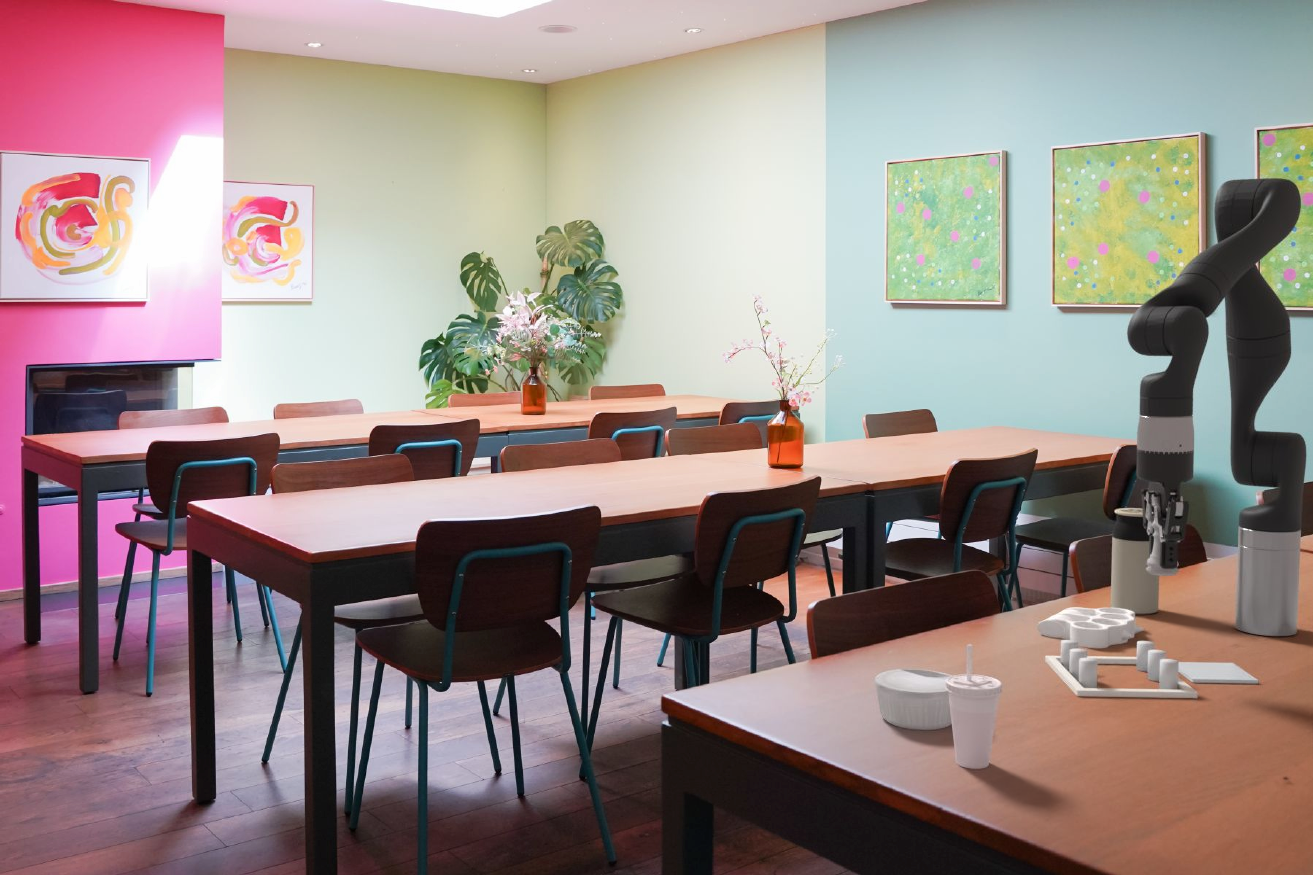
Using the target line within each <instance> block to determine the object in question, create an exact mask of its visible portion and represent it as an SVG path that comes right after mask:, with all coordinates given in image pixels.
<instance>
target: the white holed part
mask: <svg viewBox="0 0 1313 875" xmlns="http://www.w3.org/2000/svg"><path fill="white" fill-rule="evenodd" d="M1036 628H1037V631H1038V632H1039V633H1040V634H1041V635H1043V636H1045V637H1049V638H1058V639H1062V640H1074V641H1077V642H1078V647H1082V648H1087V649H1105V648H1106V649H1107V648H1108V647H1109V646H1112V645H1122V644H1125V643H1128V640H1130V639H1135V634H1137V633H1140V632H1142V631H1145V628H1143V627H1141V626H1140V625H1137V624H1136V614H1135V613H1134V612H1133V611H1131V610H1127V609H1121V608H1111V607H1098V608H1087V607H1080V606H1077V607H1067V608H1065V609H1063V610H1061V611H1060V612H1058V613H1056V614H1053V615H1051V616H1049V617H1048V618H1046V619H1044V620H1041V621H1039V622H1038V623H1037V627H1036Z"/></svg>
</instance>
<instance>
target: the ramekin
mask: <svg viewBox="0 0 1313 875" xmlns="http://www.w3.org/2000/svg"><path fill="white" fill-rule="evenodd" d="M951 676H953V675H952V674H949V673H944V672H940V671H937V670H929V669H923V668H922V669H920V668H900V669H899V668H898V669H897V668H896V669H891V670H890V669H889V670H886V671H883V672H881V673H879V674H877V675H876V677H875V678H874V687H875V689H876V694H877V700H878V701H877V703H878V706H879V707H878V709H879V713H880V715H881V717H883V719H884V720H885V722H887V723H888V724H891V725H893V726H895V727H899V728H902V729H903V728H904V729H908V730H919V731H920V730H921V731H930V730H931V731H932V730H940V729H944V728H947V727H950V726H952V721H951V712H950V704H949V693H948V691H947V690H946V689H945V687H946V679H947V678H949V677H951Z"/></svg>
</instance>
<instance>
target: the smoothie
mask: <svg viewBox="0 0 1313 875" xmlns="http://www.w3.org/2000/svg"><path fill="white" fill-rule="evenodd" d="M972 667H973V645H972V644H970V643H969V644H967V645H966V673H962V674H955V675H952V676H951V677H949V678H947V679H946V687H945V689H946V690H947V691H948V693H949V704H950V712H951V721H952V724H951V727H952V728H951V729H952V736H953V737H952V738H953V747H954V756H955V763H956V765H958V766H960V767H962V768H965V769H971V770H978V769H979V770H980V769H981V770H982V769H986V768H987V767H989V765H990V758H991V752H992V745H993V738H994V732H995V727H996V725H995V724H996V718H997V712H998V708H999V707H998V706H999V697H1000V695H1001V694H1003V683H1002V682H1001V681H1000V680H999V679H997V678H995V677H991V676H987V675H982V674H975V673H974V674H973V672H972V671H973V668H972Z"/></svg>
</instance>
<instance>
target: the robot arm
mask: <svg viewBox="0 0 1313 875" xmlns="http://www.w3.org/2000/svg"><path fill="white" fill-rule="evenodd" d="M1301 198H1302V197H1301V193H1300V190H1299V187H1298V186H1297V184H1296V183H1295V181H1292V180H1290V179H1286V178H1281V177H1280V178H1279V177H1278V178H1277V177H1272V178H1269V177H1268V178H1248V179H1246V178H1245V179H1244V178H1242V179H1230V180H1227V181H1224V182H1223V183H1221V185H1220V186H1219V188H1218V190H1217V192H1216V197H1215V200H1214V214H1213V215H1214V226H1215V234H1216V241H1217V243H1214V244H1213V245H1212V246H1210V247H1208V248H1206V249H1205V250H1203V251H1202V252H1200V253H1199V254H1197V255H1196V256H1195V257H1193V258H1192V259H1191V260H1190V261H1189V262H1188V263H1187V264H1186V266H1184V268H1183V269H1182V271H1181V272H1180V273H1179V275H1178V276H1177V277H1176V278H1175V279H1174V281H1173V282H1172V283H1171V285H1169V286H1167V287H1166V288H1163V289H1161V291H1159V292H1158V293H1156V294H1155V295H1154V296H1152V297H1150V298H1149V299H1148V300H1147V301H1145V302H1143V304H1142V305H1140V306H1139V307H1138V309H1136V310H1135V312H1134V313H1133V315H1132V316H1131V317H1130V320H1129V322H1128V326H1127V332H1126V335H1127V336H1126V337H1127V341H1128V344H1129V345H1130V348H1131V349H1132V350H1133V351H1135V352H1136V353H1137V354H1139V355H1141V356H1145V357H1146V356H1147V357H1171V358H1170V362H1169V364H1168V366H1167V367H1166V369H1165V370H1163V371H1160V372H1154V373H1150V374H1147V375H1145V376H1144V377H1143V378H1142V379H1141V380H1140V384H1139V415H1138V416H1139V418H1138V423H1137V424H1138V425H1137V432H1136V477H1137V479H1139V480H1141V481H1144V482H1148V488H1141V490H1140V494H1141V507H1142V509H1143V526H1144V528H1145V529H1147V533H1148V535H1151V536H1149V558H1150V555H1151V554H1152V551H1153V545H1154V536H1153V534H1154V532H1155V531H1154V528H1153V527H1152V525H1151V524H1152V523H1153V522H1154V518H1155V524H1156V526H1158V527H1159V532H1160V541H1161V542H1160V566H1161V567H1162V568H1163V569H1175V568H1178V566H1177V561H1178V555H1179V554H1178V553H1179V550H1178V549H1179V548H1178V547H1179V546H1178V545H1179V544H1180V542H1181V541H1185V538H1186V531H1187V523H1188V516H1189V510H1190V503H1189V502H1188V501H1187V500H1186V501H1184V499H1183V494H1182V493H1181V486H1180V485H1181V484H1182V483H1185V482H1186V483H1187V482H1190V481H1192V480H1193V478H1194V461H1195V459H1194V458H1195V426H1194V417H1193V415H1194V414H1193V413H1194V386H1195V384H1196V383H1195V382H1196V380H1197V375H1198V372H1199V368H1200V365H1201V362H1202V358H1203V355H1204V352H1205V350H1206V347H1207V344H1208V339H1209V332H1210V330H1209V323H1208V320H1207V318H1209V317H1210V316H1212V315H1213V314H1214V312H1215V311H1216V310H1217V309H1218V307H1219V306H1220V305H1221V304H1222V302H1223V301H1224V308H1225V310H1224V311H1225V340H1226V342H1225V343H1226V344H1225V345H1226V353H1227V354H1226V356H1227V364H1228V374H1229V388H1230V446H1229V447H1230V469H1231V474H1232V478H1233V479H1234V481H1235V482H1236V483H1237V484H1238V485H1242V486H1249V487H1250V486H1251V487H1259V488H1260V487H1263V488H1274V489H1277V488H1278V489H1279V490H1278V494H1277V496H1276V497H1274V498H1273V499H1271V500H1269V501H1267V502H1264V503H1262V504H1257V505H1251V506H1248V507H1244V508H1243V509H1241V510H1240V511H1239V514H1238V531H1237V532H1238V535H1237V536H1238V537H1237V564H1236V566H1237V567H1236V570H1237V571H1236V594H1235V597H1236V598H1235V621H1234V627H1235V629H1237V631H1238V630H1239V631H1241V632H1244V633H1249V634H1251V635H1253V634H1254V635H1257V636H1258V635H1259V636H1270V637H1289V636H1293V635H1296V634H1297V632H1298V614H1299V611H1298V610H1299V592H1300V589H1299V588H1300V564H1301V537H1302V536H1301V534H1302V517H1303V516H1302V515H1303V514H1302V513H1303V497H1304V496H1303V494H1304V488H1305V487H1304V486H1305V474H1306V469H1307V468H1306V466H1307V444H1306V440H1305V438H1304V437H1303V435H1302V434H1300V433H1297V432H1291V431H1269V430H1268V431H1265V430H1256V427H1255V426H1256V425H1255V421H1256V417H1257V413H1258V411H1259V409H1260V407H1261V405H1262V404H1263V402H1264V399H1266V396H1267V395H1268V394H1269V392H1270V391H1271V390H1272V389H1273V387H1274V386H1275V384H1276V383H1277V382H1278V380H1279V378H1280V377H1281V376H1282V374H1283V373H1284V372H1285V370H1286V368H1287V367H1288V365H1289V363H1290V360H1291V357H1292V338H1291V337H1292V332H1291V319H1290V315H1289V313H1288V311H1287V308H1286V307H1285V305H1284V304H1283V302H1282V301H1281V299H1280V297H1279V296H1278V295H1277V294H1276V292H1275V291H1274V290H1273V288H1272V287H1271V285H1270V284H1269V283H1268V282H1267V280H1265V277H1264V276H1263V275H1262V274H1261V272H1260V270H1259V268H1258V266H1257V264H1258V262H1259V261H1261V260H1262V259H1263V258H1264V257H1266V256H1267V255H1268V254H1269V253H1270V252H1271V251H1272V250H1273V249H1275V248H1276V247H1277V246H1278V245H1279V244H1280V243H1281V242H1283V241H1284V239H1286V238H1287V237H1288V236H1289V235H1290V234H1291V232H1293V230H1294V228H1295V227H1296V225H1297V223H1298V220H1299V218H1300V216H1301V209H1302V199H1301ZM1152 512H1153V514H1152ZM1165 518H1166V520H1165ZM1172 527H1173V530H1172V532H1171V528H1172Z"/></svg>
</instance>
